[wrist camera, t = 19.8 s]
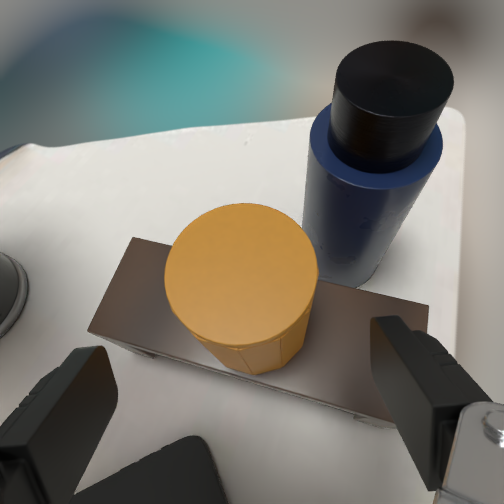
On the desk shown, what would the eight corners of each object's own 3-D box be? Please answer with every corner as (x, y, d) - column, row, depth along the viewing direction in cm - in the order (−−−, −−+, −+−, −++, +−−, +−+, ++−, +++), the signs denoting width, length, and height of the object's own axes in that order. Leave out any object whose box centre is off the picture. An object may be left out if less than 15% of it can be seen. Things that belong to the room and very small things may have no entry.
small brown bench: (130, 351, 28) (86, 331, 22) (162, 273, 31) (132, 236, 25) (385, 429, 24) (419, 431, 18) (396, 332, 27) (429, 305, 21)
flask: (284, 255, 31) (283, 82, 15) (333, 209, 33) (378, 10, 17) (342, 306, 28) (413, 162, 13) (393, 253, 30) (510, 68, 14)
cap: (183, 319, 22) (134, 268, 15) (256, 253, 23) (243, 179, 16) (253, 398, 19) (234, 383, 12) (328, 319, 21) (351, 265, 14)
